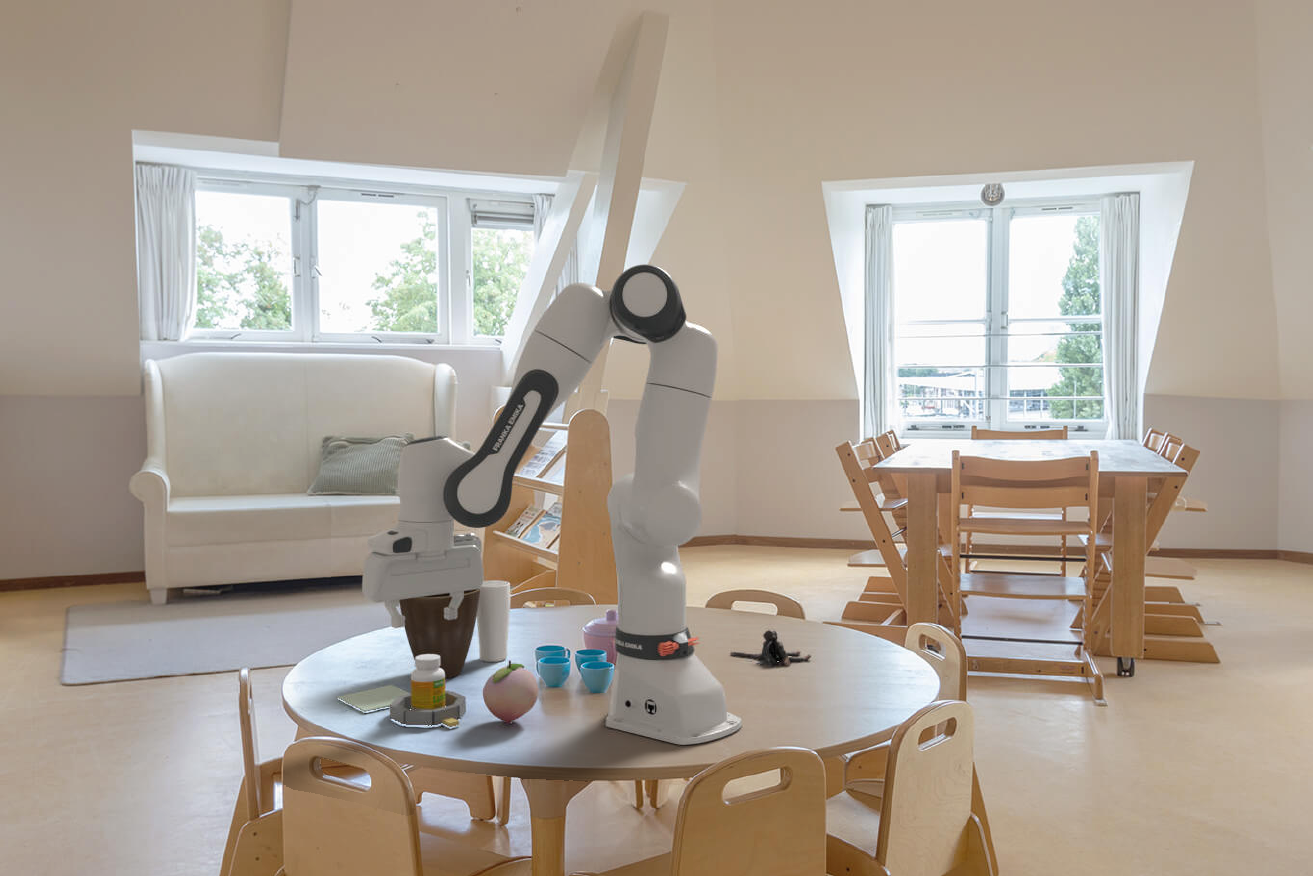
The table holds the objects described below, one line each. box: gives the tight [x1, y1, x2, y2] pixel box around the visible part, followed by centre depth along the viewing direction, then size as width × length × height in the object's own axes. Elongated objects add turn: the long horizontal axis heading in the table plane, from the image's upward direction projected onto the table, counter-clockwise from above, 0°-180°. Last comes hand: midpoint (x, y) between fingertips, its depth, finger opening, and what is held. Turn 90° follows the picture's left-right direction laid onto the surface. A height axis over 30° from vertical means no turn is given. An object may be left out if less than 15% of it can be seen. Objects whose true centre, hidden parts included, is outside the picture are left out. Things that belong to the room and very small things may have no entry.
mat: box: [337, 684, 411, 712], centre depth 168 cm, size 10×10×1 cm
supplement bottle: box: [410, 654, 446, 710], centre depth 159 cm, size 5×5×10 cm
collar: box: [389, 690, 467, 727], centre depth 159 cm, size 16×11×2 cm
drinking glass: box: [476, 579, 511, 663], centre depth 194 cm, size 7×7×15 cm
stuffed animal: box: [730, 628, 812, 668], centre depth 194 cm, size 12×10×12 cm
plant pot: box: [399, 588, 480, 679], centre depth 183 cm, size 15×15×16 cm
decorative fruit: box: [482, 660, 539, 724], centre depth 156 cm, size 9×8×10 cm
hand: (424, 623), depth 159 cm, fingers open, 8 cm apart
